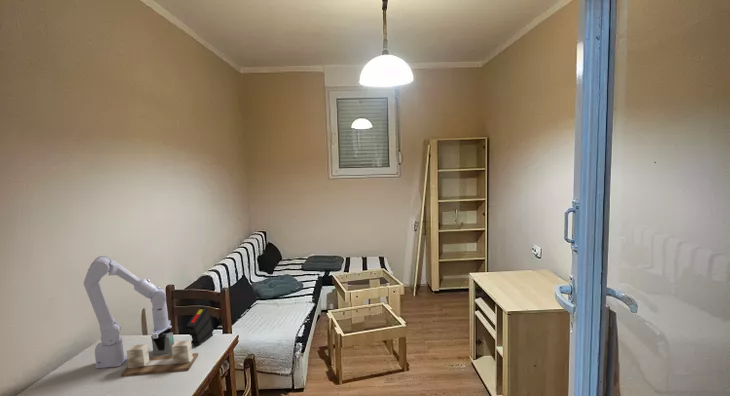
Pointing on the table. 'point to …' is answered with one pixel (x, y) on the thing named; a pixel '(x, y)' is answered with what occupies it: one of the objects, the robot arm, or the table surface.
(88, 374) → the table surface
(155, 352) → the block
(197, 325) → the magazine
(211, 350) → the table surface
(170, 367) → the board
